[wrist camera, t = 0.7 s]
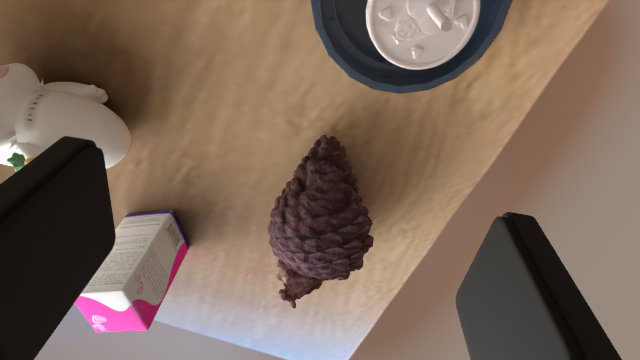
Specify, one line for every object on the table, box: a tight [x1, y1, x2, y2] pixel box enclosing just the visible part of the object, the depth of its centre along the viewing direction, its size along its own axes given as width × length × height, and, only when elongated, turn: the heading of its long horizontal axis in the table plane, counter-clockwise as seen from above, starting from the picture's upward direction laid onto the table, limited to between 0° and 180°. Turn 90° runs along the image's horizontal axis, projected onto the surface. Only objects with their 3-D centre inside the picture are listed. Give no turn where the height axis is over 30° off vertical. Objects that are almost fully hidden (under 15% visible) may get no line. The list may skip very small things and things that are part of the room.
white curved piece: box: [0, 63, 131, 171], centre depth 35 cm, size 10×8×15 cm
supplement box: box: [75, 210, 189, 332], centre depth 42 cm, size 6×6×12 cm
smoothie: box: [366, 0, 480, 70], centre depth 25 cm, size 6×6×14 cm
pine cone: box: [268, 135, 374, 308], centre depth 39 cm, size 18×10×10 cm
